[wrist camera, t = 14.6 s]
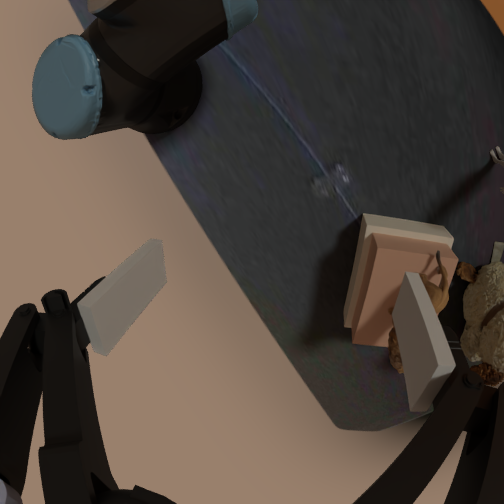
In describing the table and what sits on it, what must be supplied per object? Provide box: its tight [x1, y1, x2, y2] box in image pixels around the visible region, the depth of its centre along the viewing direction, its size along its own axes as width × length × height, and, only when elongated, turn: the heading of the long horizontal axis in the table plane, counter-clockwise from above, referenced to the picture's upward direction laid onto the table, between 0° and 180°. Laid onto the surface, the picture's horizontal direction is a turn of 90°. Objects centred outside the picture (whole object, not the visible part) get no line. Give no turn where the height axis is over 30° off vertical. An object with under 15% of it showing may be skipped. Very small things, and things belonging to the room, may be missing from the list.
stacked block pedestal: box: [344, 213, 459, 347], centre depth 43 cm, size 14×18×10 cm
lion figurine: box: [388, 250, 449, 374], centre depth 34 cm, size 15×5×9 cm, turn 168°
